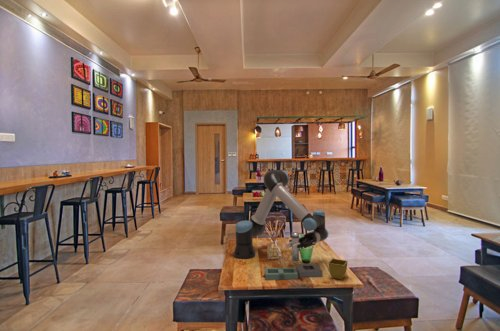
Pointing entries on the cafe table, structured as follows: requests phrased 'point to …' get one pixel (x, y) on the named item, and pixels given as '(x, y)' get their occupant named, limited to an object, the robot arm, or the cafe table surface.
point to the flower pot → (337, 268)
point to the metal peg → (294, 241)
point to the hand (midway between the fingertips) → (289, 247)
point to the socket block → (308, 270)
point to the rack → (281, 273)
